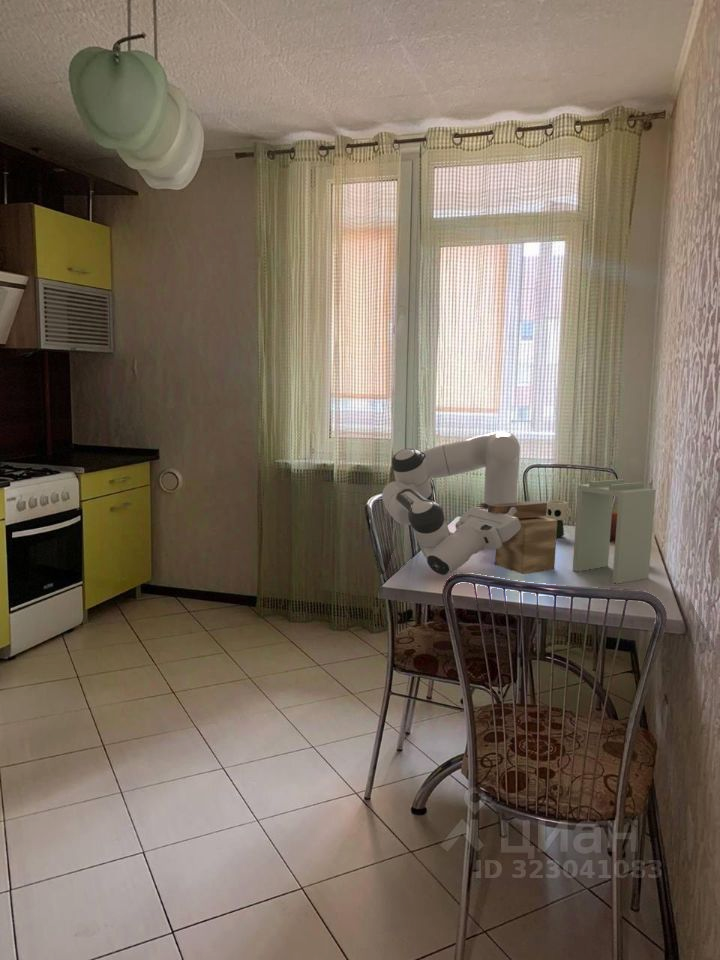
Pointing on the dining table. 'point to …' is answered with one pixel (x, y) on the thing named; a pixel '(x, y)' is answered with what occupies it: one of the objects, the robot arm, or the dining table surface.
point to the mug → (613, 525)
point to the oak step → (529, 546)
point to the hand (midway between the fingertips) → (507, 507)
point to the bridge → (629, 529)
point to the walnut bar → (521, 509)
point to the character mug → (558, 514)
